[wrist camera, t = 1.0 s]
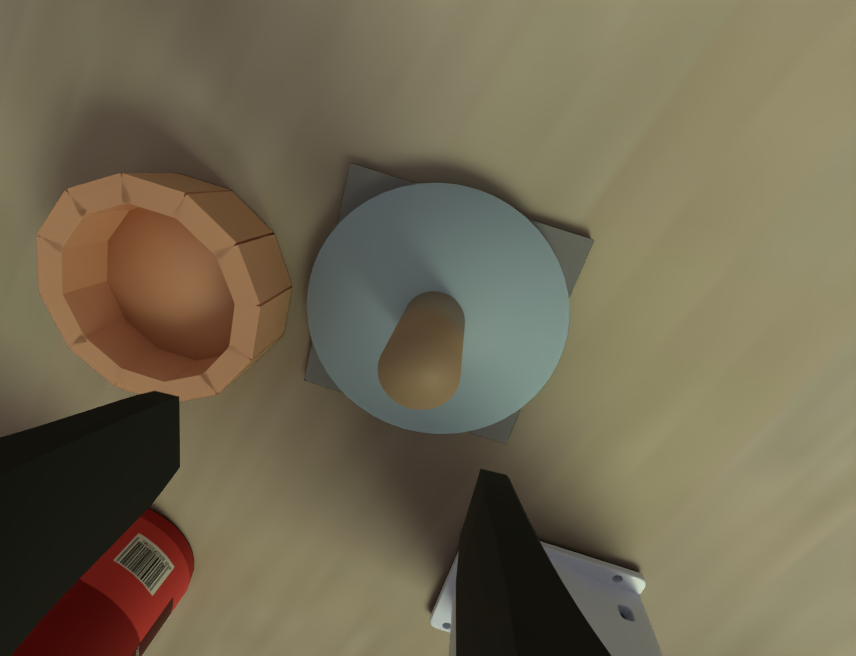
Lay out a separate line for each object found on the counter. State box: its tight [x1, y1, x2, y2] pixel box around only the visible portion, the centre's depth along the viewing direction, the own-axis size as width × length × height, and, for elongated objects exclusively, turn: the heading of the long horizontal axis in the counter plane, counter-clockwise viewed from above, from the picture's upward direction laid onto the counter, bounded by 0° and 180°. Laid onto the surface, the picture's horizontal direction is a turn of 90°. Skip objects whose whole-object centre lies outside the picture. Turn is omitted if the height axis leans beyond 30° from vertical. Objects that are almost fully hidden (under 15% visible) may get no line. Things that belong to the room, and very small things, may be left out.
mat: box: [304, 163, 594, 444], centre depth 19 cm, size 10×10×1 cm
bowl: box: [37, 173, 292, 402], centre depth 18 cm, size 9×9×3 cm
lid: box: [307, 183, 570, 434], centre depth 16 cm, size 11×11×6 cm
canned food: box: [11, 508, 194, 656], centre depth 21 cm, size 8×8×11 cm
